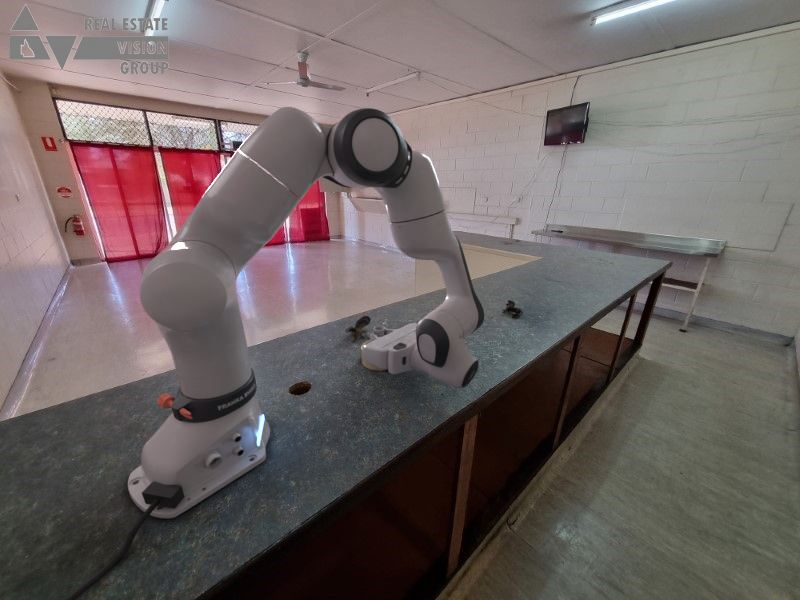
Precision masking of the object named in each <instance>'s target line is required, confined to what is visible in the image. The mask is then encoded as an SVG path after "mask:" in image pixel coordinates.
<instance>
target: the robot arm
mask: <svg viewBox="0 0 800 600" xmlns="http://www.w3.org/2000/svg"><path fill="white" fill-rule="evenodd" d="M321 178H322V179H325V180H328V181H330V182H332V183H333V184H335V185H337V186H340V187H343V188H348V189H355V190H357V189H358V190H362V189H363V190H364V189H365V190H366V189H368V188H372V189H374V190H375V191H376V192H377V193H378V195H379V196H380V197H381V199H382V202H383V204H384V205H385V210H386V216H387V220H388V224H389V229H390V232H391V237H392V239H393V241H394V243H395V246H396V248H397V250H399V251H400V252H401V253H402V254H403V255H405V256H406V257H409V258H411V259H414V260H418V261H419V260H421V261H433V262H435V263H436V265H437V266H438V268H439V271H440V274H441V277H442V281H443V284H444V286H445V289H446V296H445V299H444V301H443V302H442V303H441V304H440V305H438V306H437V307H436V308H435V309H433V310H432V311H430V312H429V313H427V314H426V315H425V316H424V317H423V318H422V319H420V321H418V323H416V322H411V323H408V324H406V325H404V326H402V327H400V328H397V329H396V328H387V327H385V330H384V335H385V336H383V337H379V338H378V333H375V332H374V331H373V332H372V333H370V334H369V340H373V341H372V342H370V343H368V344H366V345H364V347H363V355H364V359H365V360H366V361H368V362H369V363H371V364H373V365H375V366H377V367H380V368H383V369H387V370H388V373H389V374H391V375H398V374H401V373H402V374H403V373H405V372H412V371H417V372H419V373H425V374H427V375H428V376H429V377H430V378H431V379H433V380H436V381H438V382H439V383H441V384H444V385H446V386H449V387H453V388H456V389H464V388H465V387H467V386H468V385H469V384H470V383H471V382H472V381H473V379H474V378H475V376H476V374H477V372H478V370H479V366H480V365H479V364H480V362H479V361H480V360H479V359H478V358H477V357H475V356H474V355H472V354H471V352H470V351H469V349H468V347H467V346H466V343H465V340H466V339H467V338H468V337H469V336H471V335H472V334H473V333H475V332H476V331H477V330H479V329H480V328H481V327H482V325H483V324H484V321H485V311H484V307H483V305H482V303H481V300H480V298H479V297H478V295H477V293H476V291H475V289H474V288H475V287H474V285H473V282H472V278H471V275H470V270H469V267H468V263H467V260H466V255H465V253H464V250H463V246H462V244H461V241H460V239H459V237H458V236H457V234H455V232H454V231H453V230H452V228H451V224H450V221H449V218H448V214H447V209H446V204H445V199H444V194H443V190H442V187H441V183H440V179H439V177H438V175H437V171H436V168H435V166H434V163H433V161H432V159H431V158H430V157H429V156H428V155H427V154H425V153H424V152H421V151H418V150H413V149H412V147H411V145H410V144H409V142H408V141H407V140H406V139H405V136H404V134H403V133H402V130H401V128H400V127H399V126H398V124H397V122H396V121H395V120H394V119H393V118H392V117H391V116H390V115H388V114H387V113H385V112H384V111H382V110H380V109H376V108H372V107H363V108H358V109H355V110H353V111H351V112H348V113H347V114H346V115H345V116H344V117H342V118H341V119H340V120H339V121H337V122H336V123H334V124H332V125H331V126H330V125H328V126H326V125H323V124H320V123H318V122H317V121H316V120H315V118H313V117H312V116H311V115H310V114H308V113H307V112H305V111H304V110H301V109H300V108H296V107H293V106H283V107H280V108H278V109H277V110H276V111H274V112H273V113H272V114H271V115H268V116H267V118H265V120H264V121H262V122H261V123H260V124H259V125H258V126H257V127H256V128H255V129H254V130H253V131H252V132H251V133H250V134H249V135H248V136H247V138H246V139H245V140H244V141H243V142H242V143H241V145H240V146H239V148H237V150H236V151H235V152H234V154H233V155H232V157H230V159H229V160H228V162H226V164H225V166H224V167H223V168H222V169H221V171H220V173H219V174H218V175H217V176H216V177H215V179H214V180H213V182H212V183H211V185H209V187H208V188H207V190H205V192H204V193H203V194H202V196H201V198H200V199H199V201H198V202H197V204H196V206H195V207H194V208H193V210H192V211H191V213H190V214H189V215H188V217H187V219H186V220H185V221H184V222H183V224H182V225H181V226H180V228H179V229H178V231H177V232H176V233H175V235H174V236H173V238H172V239H171V240H170V241H169V243H167V245H165V247H164V248H163V249H162V250H161V251H160V252H159V253H157V255H156V256H154V257H153V258H152V260H150V261H149V262H148V263H147V265H145V268H144V270H143V272H142V274H141V279H140V284H139V299H140V303H141V307H142V308H143V310H144V312H145V313H146V314H147V316H149V318H150V319H151V320H153V321H154V322H155V324H156V326H157V328H158V330H159V332H160V333H161V335H162V337H163V339H164V341H165V342H166V345H167V347H168V349H169V352H170V354H171V358H172V362H173V365H174V369H175V373H176V376H177V377H176V378H177V380H178V384H179V388H178V390H177V392H176V393H177V394H176V397H174V396H172V395H171V394H169V393H163V394H161V395H160V396H158V399H157V405H158V406H161V407H162V408H163V409H165V410H167V409H171V411H172V412H171V413H170V415H169V416H168V417H167V418H166V419H165V421H164V422H163V423H162V424H161V425H160V427H159V428H157V430H156V431H155V432H154V433H153V434H152V435H151V437H150V438H148V440H147V441H146V442H145V443H144V445H143V447H142V450H141V454H140V465H139V466H138V467H136V468H134V469H133V470H132V472H130V473H129V476H128V480H127V489H128V494H129V497H130V498H131V500H132V502H133V503H134V504H135V505H136V507H138V508H139V510H141V511H142V512H143V513H142V514H141V516H140V517H139V518H138V520H137V521H136V523H135V524H134V525H133V526H132V528H131V529H130V532H129V533H128V535H127V537H126V539H125V542H124V544H123V546H122V547H121V548H120V550H119V551H118V552H117V553H116V554H115V556H113V557H112V559H111V560H110V561H109V562H108V563H106V565H104V567H102V568H101V569H100V570H99V571H98V572H97V573H95V574H94V575H93V576H92V577H91V578H89V579H88V580H87V581H85V582H84V583H83V584H82V585H80V586H79V587H78V588H77V589H75V590H74V591H73V592H72V593H71V594H69V595H68V596H67V597H65V598H64V600H76V599H77V598H78V597H80V596H81V595H83V593H85V592H86V591H87V590H89V588H91V587H92V586H93V585H94V584H96V583H97V582H98V581H99V580H100V579H102V578H103V577H104V576H105V575H106V574H107V573H108V572H109V571H111V569H112V568H114V566H115V565H116V564H117V563H119V562H120V560H122V558H123V557H124V555H125V554H126V553H127V552H128V550H129V549H130V547H131V546H132V544H133V542H134V540H135V537H136V535H137V533H138V531H139V530H140V529H141V527H142V525H143V524H144V523H145V521H146V520H147V519H148V517H149V516H151V517H154V518H158V519H174V518H177V517H178V516H180V515H181V514H183V513H185V512H186V511H188V510H190V509H191V508H192V507H194V506H196V505H197V504H199V503H201V502H202V501H204V500H205V499H207V498H209V497H211V496H212V495H214V493H216V492H218V491H220V490H221V489H222V488H225V487H226V486H228V485H229V484H230V483H232V482H234V481H235V480H236V479H238V478H240V477H241V476H243V475H245V474H246V473H248V472H249V471H251V470H253V469H254V468H256V467H258V466H259V465H261V464H262V463H263V462H264V461H265V460H266V459H267V445H268V442H269V439H270V436H271V426H270V424H269V422H268V421H267V419H266V418H265V414H263V411H262V409H261V406H260V403H259V400H258V396H257V389H258V387H257V385H258V384H257V380H256V374H255V371H254V368H252V366H251V359H250V353H249V348H248V341H247V337H246V331H245V328H244V323H243V320H242V319H243V318H242V314H241V311H240V310H241V309H240V304H239V300H238V294H237V285H236V284H237V283H236V281H237V279H238V277H239V275H240V273H241V272H242V271H243V270H244V268H245V267H246V266H247V265H248V264H249V263H250V261H252V259H253V258H254V257H255V256H256V255H257V254H258V253H259V252H260V251H261V250H262V249H263V248H264V246H266V245H267V244H268V243H269V242H270V241H271V240H272V239H273V238H274V237H275V235H276V234H277V233H278V231H280V229H281V228H282V226H283V225H284V224H285V222H286V221H287V220H288V218H289V217H290V216H291V215H292V213H293V212H294V211H295V209H296V208H297V206H298V205H299V204H300V202H301V201H302V200H303V198H304V197H305V196H306V195H307V193H308V192H309V190H310V189H311V188H312V187H313V185H314V184H315V183H317V182H318V181H319V180H320V179H321Z"/></svg>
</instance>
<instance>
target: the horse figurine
mask: <svg viewBox="0 0 800 600" xmlns="http://www.w3.org/2000/svg"><path fill="white" fill-rule="evenodd" d="M505 306H506V307H505V309H502V314H505V313H509V314H510V313H512V315H511V316H510V317H511V318H513V319H514V318H516V317H521V316H522V315H523V314H524V311H522V308H520V307H516V303H515V301H513V300H511V299H510V300H509V299H508V300H507V303H505ZM490 318H491V319H492V318H493V317H490Z"/></svg>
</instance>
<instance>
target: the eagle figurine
mask: <svg viewBox="0 0 800 600" xmlns="http://www.w3.org/2000/svg"><path fill="white" fill-rule="evenodd" d="M371 321H372V320H371V317H370V316H369V315H364V316H361V317H360V318H359V319H357V320H356V321H355V324H354V326H352V325H350V326H348V327H346V328H345V333H346V334H347V333H352V335H350V337H353V343H354V342H356V341H357V340H358V338H359V337H361V336H362V337H364V338H366V334H365V332H366V330H364V328H366V326H369V325H370V324H371Z"/></svg>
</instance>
